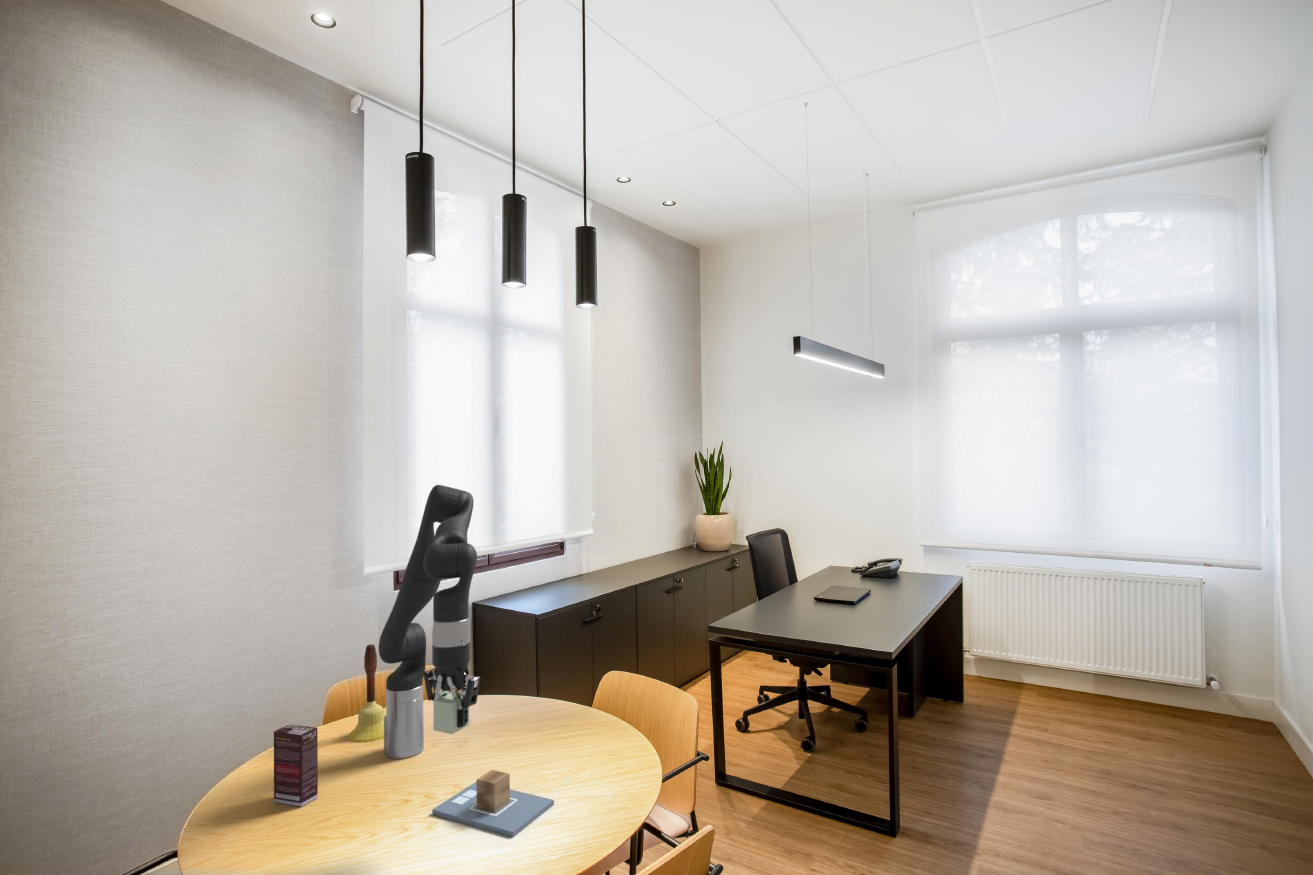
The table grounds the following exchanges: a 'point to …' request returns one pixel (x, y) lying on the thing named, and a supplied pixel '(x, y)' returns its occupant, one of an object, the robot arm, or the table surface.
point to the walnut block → (493, 790)
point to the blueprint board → (502, 821)
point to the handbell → (369, 706)
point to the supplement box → (295, 765)
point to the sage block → (446, 714)
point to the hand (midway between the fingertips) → (451, 723)
